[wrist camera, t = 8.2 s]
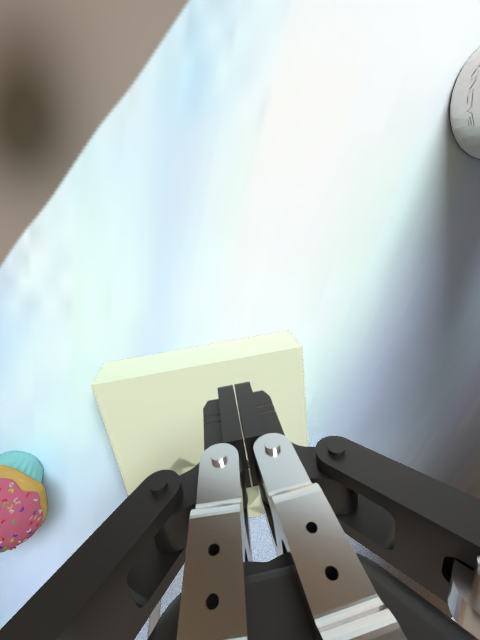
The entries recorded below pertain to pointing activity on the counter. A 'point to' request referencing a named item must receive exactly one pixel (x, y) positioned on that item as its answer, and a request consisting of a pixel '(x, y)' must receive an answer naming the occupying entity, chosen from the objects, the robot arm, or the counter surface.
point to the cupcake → (20, 498)
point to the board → (193, 404)
